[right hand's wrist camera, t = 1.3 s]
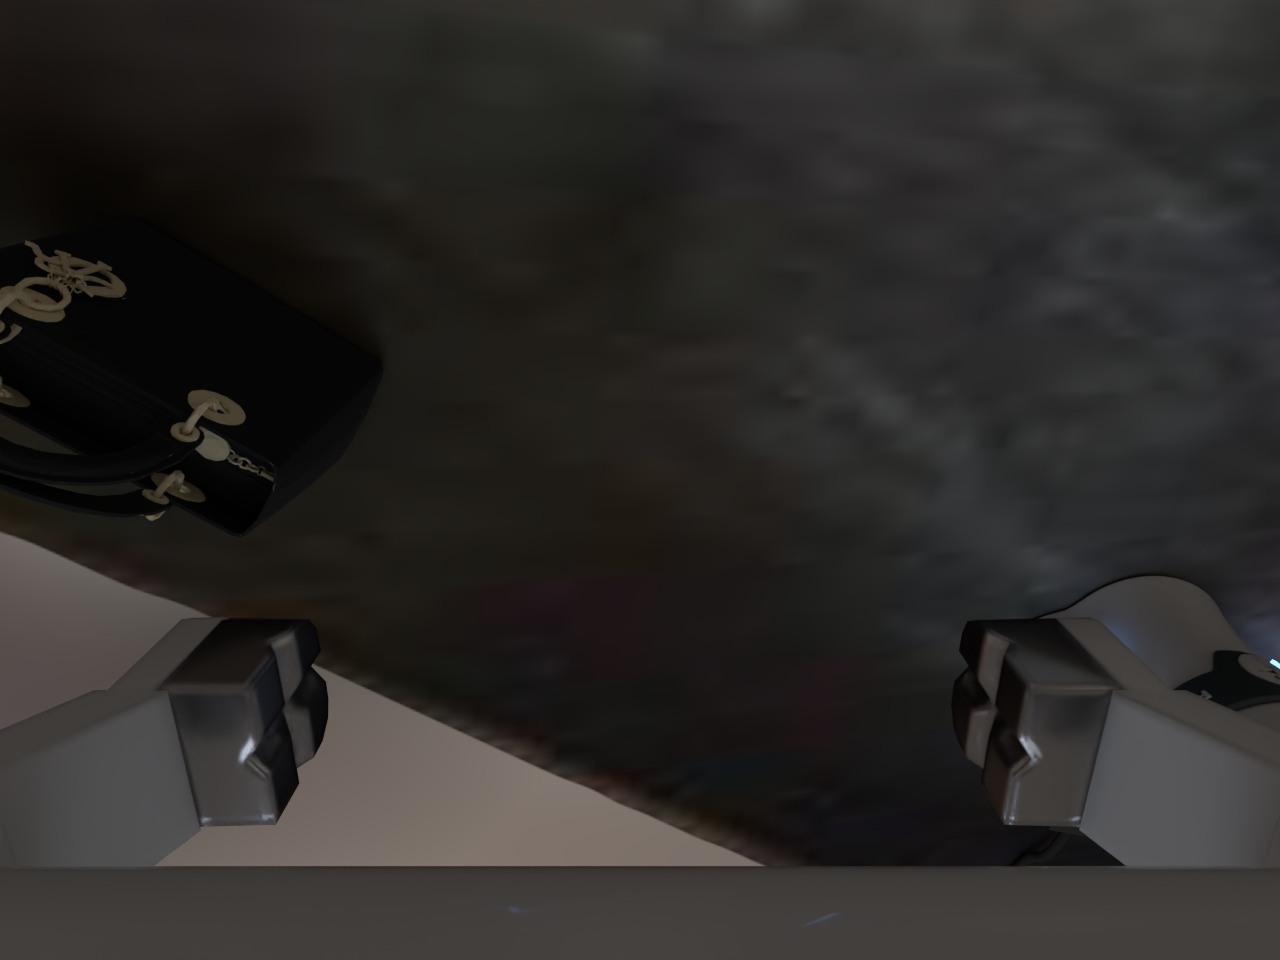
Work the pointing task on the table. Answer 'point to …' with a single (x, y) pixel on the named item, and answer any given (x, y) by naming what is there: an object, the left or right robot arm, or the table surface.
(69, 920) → the right robot arm
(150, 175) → the table surface
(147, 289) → the handbag
